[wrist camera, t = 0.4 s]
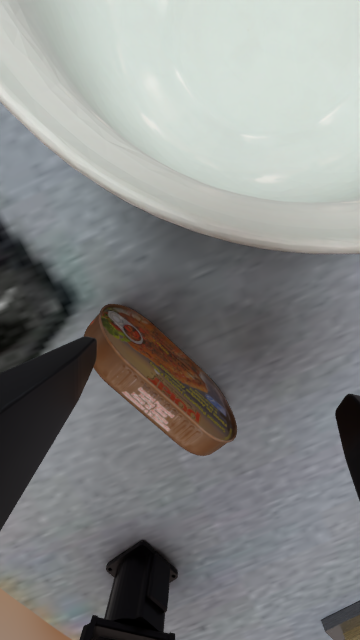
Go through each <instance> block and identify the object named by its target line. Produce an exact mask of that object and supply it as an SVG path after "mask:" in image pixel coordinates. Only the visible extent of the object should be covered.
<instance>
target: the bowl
mask: <svg viewBox="0 0 360 640" xmlns="http://www.w3.org/2000/svg"><path fill="white" fill-rule="evenodd" d="M0 102H1V103H2V104H3V105H4V106H5V107H6V108H7V109H8V110H9V111H10V112H11V113H12V114H13V115H14V116H15V117H16V118H17V119H18V120H19V121H20V122H21V123H22V124H23V125H24V126H25V127H26V128H27V129H28V130H29V131H31V132H32V133H33V134H34V135H35V136H36V137H37V138H38V139H39V140H40V141H41V142H42V143H43V144H44V145H46V146H47V147H48V148H49V149H50V150H52V151H53V152H54V153H55V154H57V155H58V156H59V157H60V158H62V159H63V160H64V161H65V162H66V163H68V164H69V165H70V166H71V167H73V168H74V169H76V170H77V171H79V172H80V173H82V174H83V175H85V176H86V177H88V178H89V179H91V180H92V181H94V182H95V183H97V184H98V185H100V186H101V187H103V188H104V189H106V190H107V191H109V192H111V193H112V194H114V195H116V196H117V197H119V198H121V199H123V200H124V201H126V202H128V203H130V204H132V205H134V206H136V207H138V208H140V209H142V210H144V211H146V212H148V213H150V214H152V215H154V216H156V217H158V218H160V219H163V220H166V221H168V222H171V223H173V224H176V225H178V226H181V227H184V228H186V229H189V230H191V231H194V232H198V233H201V234H204V235H208V236H211V237H215V238H218V239H222V240H225V241H229V242H232V243H237V244H242V245H247V246H252V247H257V248H262V249H269V250H277V251H286V252H297V253H308V254H360V0H0Z"/></svg>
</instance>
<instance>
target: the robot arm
mask: <svg viewBox="0 0 360 640" xmlns="http://www.w3.org/2000/svg"><path fill="white" fill-rule="evenodd" d="M96 358H97V340H96V339H95V338H92V337H87V336H84V337H82V338H79V339H77V340H75V341H73V342H70V343H68V344H66V345H63V346H61V347H59V348H57V349H54V350H52V351H50V352H47V353H45V354H43V355H41V356H38V357H36V358H34V359H31V360H29V361H27V362H25V363H22V364H20V365H18V366H16V367H13V368H11V369H9V370H6V371H4V372H2V373H0V530H1V529H2V527H3V525H4V524H5V522H6V520H7V519H8V517H9V515H10V514H11V512H12V510H13V509H14V507H15V505H16V504H17V502H18V500H19V499H20V497H21V495H22V494H23V492H24V490H25V489H26V487H27V485H28V484H29V482H30V480H31V479H32V477H33V475H34V474H35V472H36V470H37V469H38V467H39V465H40V464H41V462H42V460H43V459H44V457H45V455H46V454H47V452H48V450H49V449H50V447H51V445H52V444H53V442H54V440H55V439H56V437H57V435H58V434H59V432H60V430H61V429H62V427H63V425H64V424H65V422H66V420H67V419H68V417H69V415H70V414H71V412H72V410H73V409H74V407H75V405H76V403H77V402H78V400H79V398H80V396H81V393H82V391H83V389H84V387H85V385H86V382H87V380H88V378H89V376H90V373H91V371H92V369H93V367H94V365H95V362H96ZM335 416H336V420H337V425H338V429H339V433H340V438H341V442H342V446H343V451H344V455H345V458H346V462H347V465H348V468H349V471H350V474H351V477H352V480H353V483H354V486H355V489H356V492H357V495H358V497H359V500H360V396H358V395H354V394H348V395H346V396H345V398H344V399H343V400H342V402H341V403H340V405H339V406H338V408H337V409H336V413H335ZM106 570H107V572H109V573H110V574H111V575H112V576H113V577H114V582H113V586H112V590H111V594H110V598H109V602H108V606H107V610H106V613H105V617H104V619H103V618H98V616H96V615H93V616H92V619H91V622H90V623H89V624H87V625H85V626H84V627H83V630H82V633H81V637H80V640H175V633H164V632H163V631H164V619H165V612H166V611H167V605H168V593H169V583H170V582H172V581H173V580H175V579H176V578H177V577H178V572H177V570H176V569H175V568H173V567H172V566H171V565H170V564H169V563H168V562H167V561H166V560H165V559H163V558H162V557H161V556H160V555H159V554H158V553H157V552H156V551H155V550H154V549H152V548H151V547H150V546H149V545H148V544H147V543H146V542H144V541H141V542H139V543H138V544H136V545H135V546H133V547H132V548H130V549H129V550H127V551H126V552H124V553H123V554H121V555H120V556H118V557H117V558H115V559H114V560H112V561H111V562H109V563H108V564H107V567H106Z"/></svg>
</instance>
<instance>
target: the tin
mask: <svg viewBox="0 0 360 640" xmlns="http://www.w3.org/2000/svg"><path fill="white" fill-rule="evenodd" d="M84 336H87V337H92V338H95V339H96V340H97V358H96V362H95V365H94V367H93V368H94V369H95V370H96V372H97V373H98V374H99V375H100V377H101V378H102V379H103V380H104V381H105V382H107V384H108V385H110V386H111V387H112V388H113V389H114V390H115V391H117V392H118V393H119V394H120V395H121V396H122V397H124V398H125V399H126V400H127V401H128V402H129V403H130V404H132V405H133V406H134V407H135V408H136V409H137V410H139V411H140V412H141V413H142V414H143V415H144V416H145V417H147V418H148V419H149V420H150V421H151V422H152V423H154V424H155V425H156V426H157V427H158V428H160V429H161V430H162V431H163V432H164V433H165V434H167V435H168V436H169V437H170V438H171V439H172V440H173V441H175V442H176V443H177V444H178V445H179V446H181V447H182V448H184V449H185V450H187V451H188V452H190V453H193V454H195V455H200V456H206V455H209V454H212V453H213V452H215V451H216V450H218V449H219V448H221V447H222V446H223V445H225V444H226V443H227V442H231V441H233V440H234V438H235V437H236V434H237V425H236V421H235V418H234V415H233V412H232V410H231V408H230V406H229V404H228V402H227V401H226V399H225V397H224V395H223V394H222V392H221V391H220V389H219V388H218V387H217V386H216V384H215V383H214V382H213V381H212V380H211V379H210V378H209V376H208V375H207V374H206V373H205V372H204V371H203V370H201V369H200V368H199V367H198V366H197V365H196V364H195V363H194V362H193V361H192V360H191V359H190V358H189V357H188V356H186V355H185V354H184V353H183V352H182V351H181V350H180V349H179V348H178V347H177V346H176V345H175V344H173V343H172V342H171V341H170V340H169V339H168V338H167V337H166V336H165V335H164V334H163V333H162V332H161V331H160V330H159V329H157V328H156V327H155V326H154V325H153V324H152V323H151V322H150V321H149V320H147V319H146V318H145V317H143V316H142V315H140V314H139V313H137V312H136V311H134V310H132V309H130V308H128V307H125V306H122V305H118V304H108V305H106V306H104V307H103V308H102V309H101V311H100V313H99V315H98V316H97V317H96V318H95V319H94V320H93V321H92V322H91V323H90V325H89V326H88V328H87V329H86V331H85V334H84Z"/></svg>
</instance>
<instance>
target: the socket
mask: <svg viewBox="0 0 360 640" xmlns="http://www.w3.org/2000/svg"><path fill="white" fill-rule="evenodd" d="M321 621H322V624H323V627H324V630H325V632H326V633H327V634H328V635H329V636H330V637H331V638H332V639H333V640H360V601H359V602H357V603H355V604H353V605H351V606H349V607H347V608H345V609H343V610H341V611H339V612H337V613H335V614H333V615H331V616H329V617H327V618H325V619H323V620H321Z"/></svg>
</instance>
